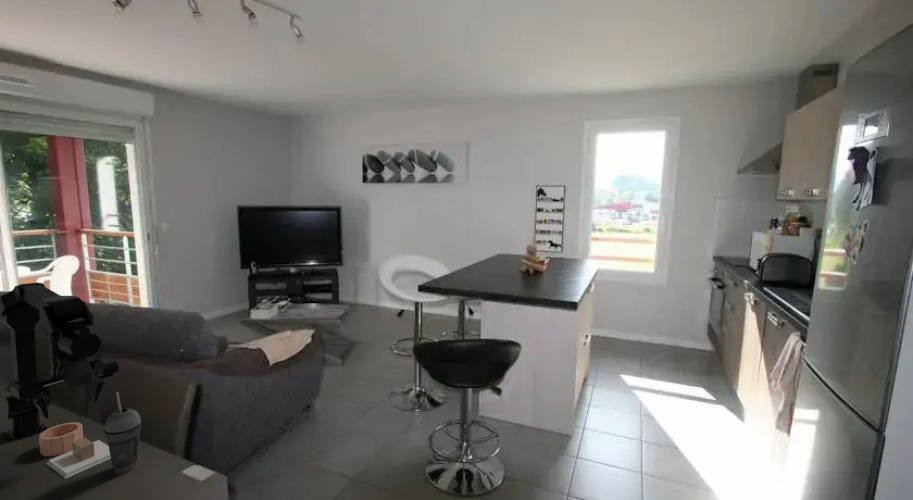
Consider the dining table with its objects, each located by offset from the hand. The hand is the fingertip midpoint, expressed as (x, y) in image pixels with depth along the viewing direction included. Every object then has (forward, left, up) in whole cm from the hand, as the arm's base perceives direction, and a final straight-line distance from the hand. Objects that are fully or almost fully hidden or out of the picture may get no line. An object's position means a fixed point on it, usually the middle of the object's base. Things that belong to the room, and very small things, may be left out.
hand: (71, 409), depth 101 cm
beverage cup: (+14, +5, -14) cm, 20 cm away
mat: (+1, +1, -14) cm, 14 cm away
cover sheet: (+1, +1, -14) cm, 14 cm away
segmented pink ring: (-10, +1, -14) cm, 18 cm away
